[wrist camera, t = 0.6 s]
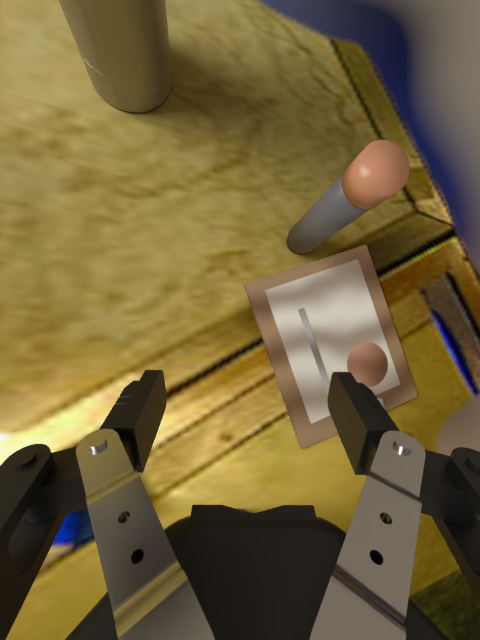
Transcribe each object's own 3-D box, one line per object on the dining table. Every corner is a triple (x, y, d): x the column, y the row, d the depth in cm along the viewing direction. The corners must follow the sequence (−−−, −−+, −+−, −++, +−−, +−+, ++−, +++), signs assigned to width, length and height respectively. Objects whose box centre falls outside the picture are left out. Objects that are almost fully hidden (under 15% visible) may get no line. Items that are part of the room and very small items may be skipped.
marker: (279, 232, 34) (353, 146, 18) (306, 224, 35) (399, 134, 19) (289, 260, 34) (371, 199, 18) (316, 252, 35) (416, 185, 19)
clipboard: (243, 284, 33) (246, 282, 31) (362, 246, 36) (370, 242, 34) (300, 446, 33) (305, 452, 32) (413, 394, 36) (423, 397, 35)
